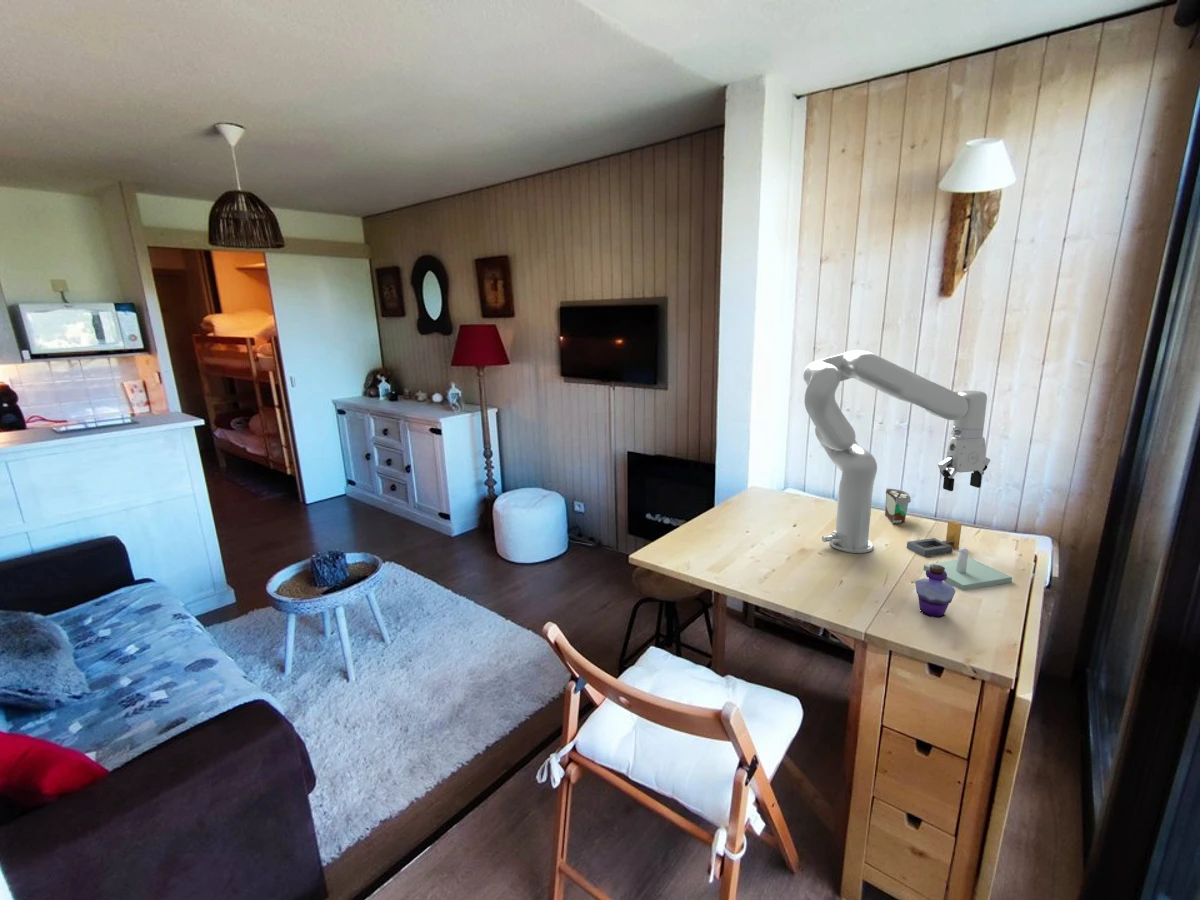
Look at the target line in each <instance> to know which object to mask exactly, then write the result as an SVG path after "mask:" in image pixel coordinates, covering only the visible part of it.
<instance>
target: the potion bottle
mask: <svg viewBox="0 0 1200 900" xmlns="http://www.w3.org/2000/svg"><path fill="white" fill-rule="evenodd" d="M944 570H945V568H944V567H943V566H940V565H935V564H933V565H930V568H929V569H926V571H925V575H926V578H925V577H923V578H919V579H917V580H915V581H914V582H915V583H914V584H915V591H916V594H917V597H918V603H919V604H918V606H919V608H920V610H921V611H920V610H919V611H920V613H921V612H923V613H922V614H923V615H925V616H928V617H931V618H937V619H939V618H943V617H945V616H946V611H947V609H948V607H949V604H951V603H952V602H953V598H954V596H955V594H956V590H955V588H954V586H953V585H951V584H950V583H948V582H946V581H944V580H946V579H947V573H946V572H945V571H944Z"/></svg>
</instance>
